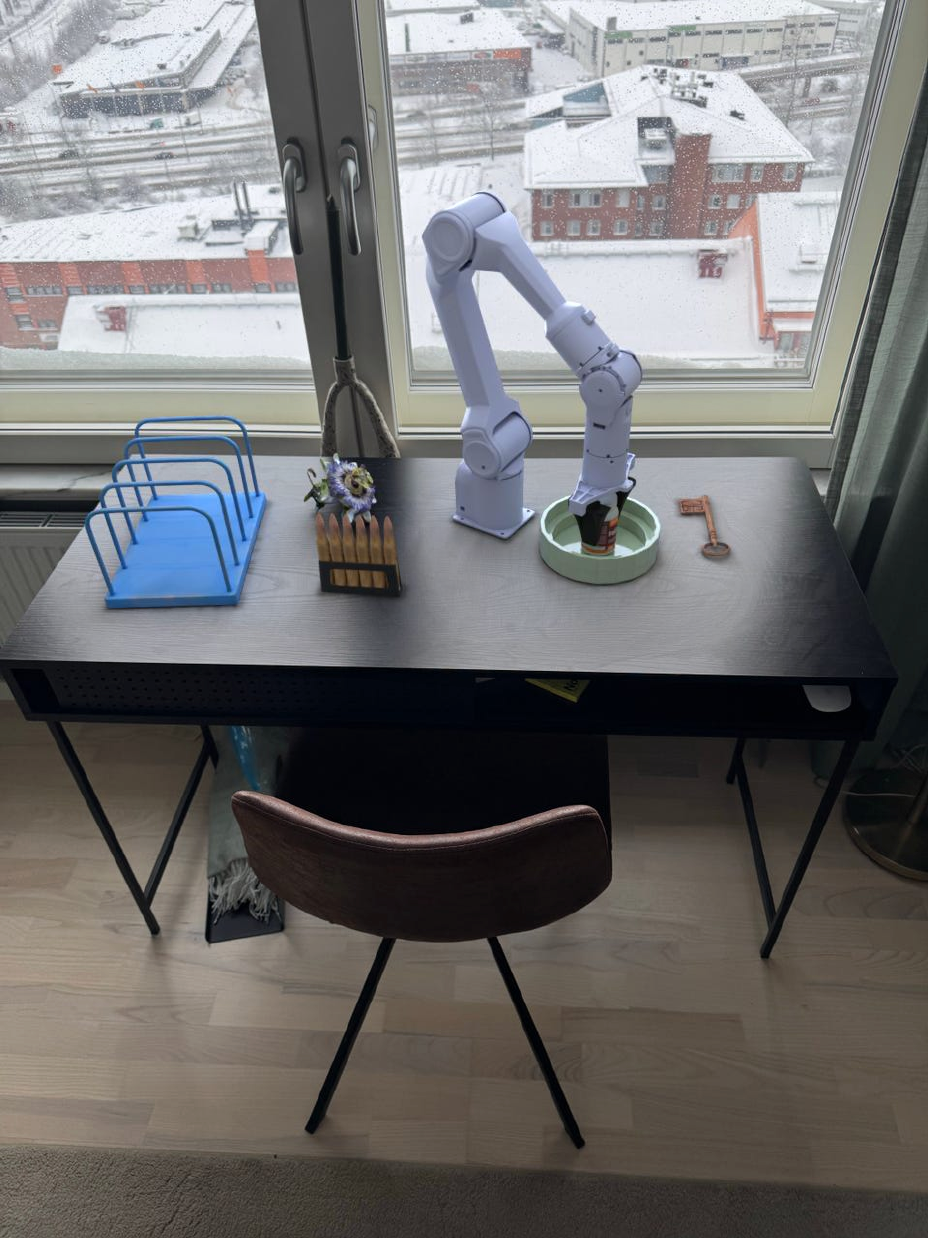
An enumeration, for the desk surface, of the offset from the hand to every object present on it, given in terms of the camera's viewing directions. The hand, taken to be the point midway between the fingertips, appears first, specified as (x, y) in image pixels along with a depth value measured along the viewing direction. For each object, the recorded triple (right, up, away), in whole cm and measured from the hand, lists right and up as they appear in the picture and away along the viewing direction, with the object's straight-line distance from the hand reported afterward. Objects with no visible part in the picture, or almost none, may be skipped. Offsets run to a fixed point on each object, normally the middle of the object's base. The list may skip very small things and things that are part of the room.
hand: (598, 534), depth 128 cm
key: (+16, +1, +5) cm, 17 cm away
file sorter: (-57, -2, +4) cm, 57 cm away
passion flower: (-37, +3, +10) cm, 38 cm away
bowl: (0, -2, +2) cm, 3 cm away
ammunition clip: (-32, -8, -4) cm, 33 cm away
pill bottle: (0, -2, +2) cm, 2 cm away
